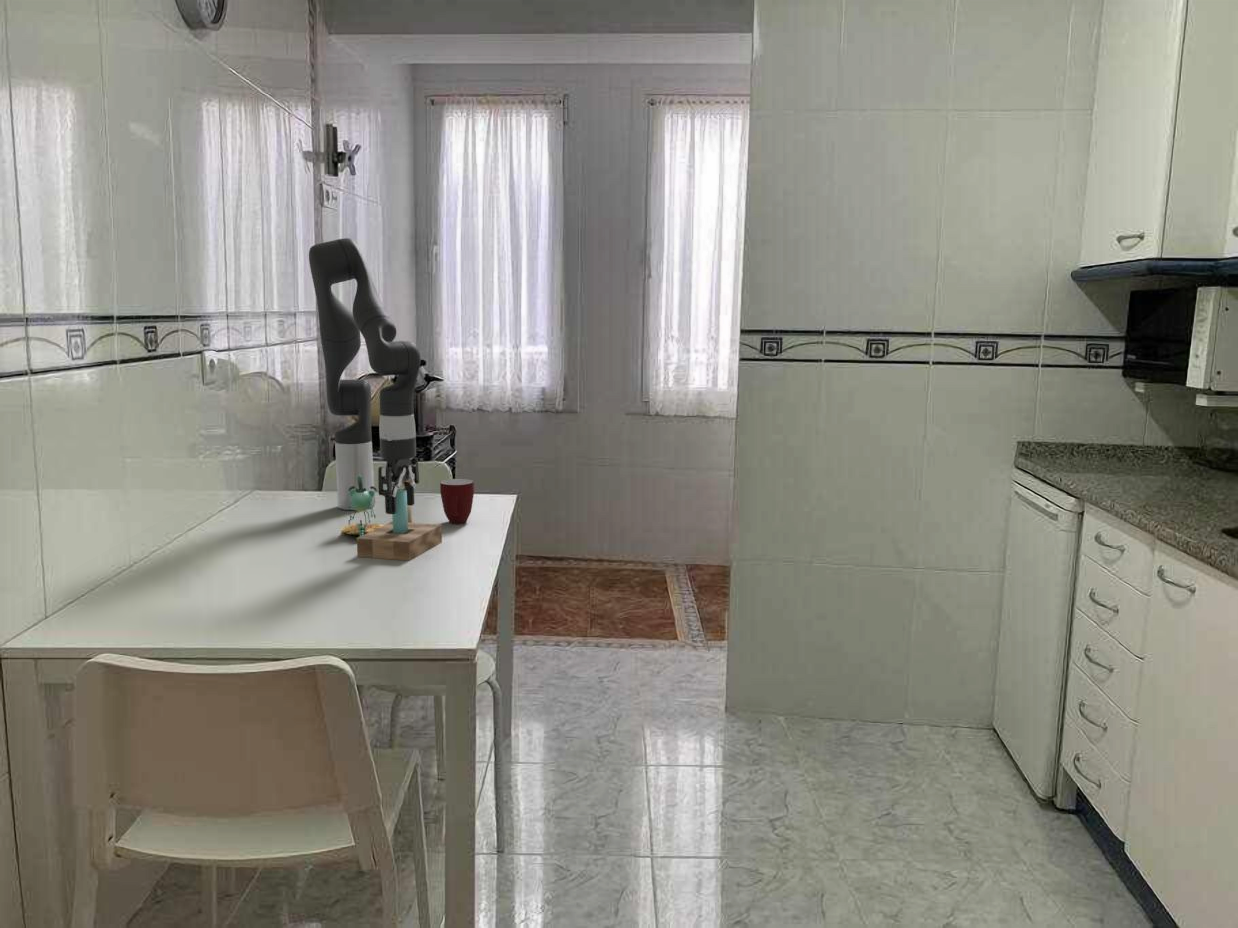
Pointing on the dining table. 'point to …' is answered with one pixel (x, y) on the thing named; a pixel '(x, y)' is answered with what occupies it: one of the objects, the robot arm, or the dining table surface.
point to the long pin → (400, 513)
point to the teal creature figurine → (361, 509)
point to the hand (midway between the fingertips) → (400, 509)
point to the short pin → (409, 514)
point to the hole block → (399, 541)
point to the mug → (457, 499)
